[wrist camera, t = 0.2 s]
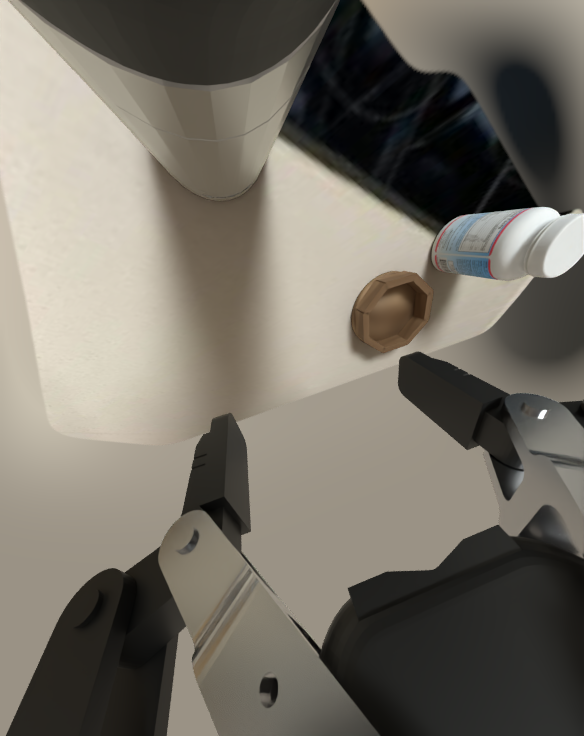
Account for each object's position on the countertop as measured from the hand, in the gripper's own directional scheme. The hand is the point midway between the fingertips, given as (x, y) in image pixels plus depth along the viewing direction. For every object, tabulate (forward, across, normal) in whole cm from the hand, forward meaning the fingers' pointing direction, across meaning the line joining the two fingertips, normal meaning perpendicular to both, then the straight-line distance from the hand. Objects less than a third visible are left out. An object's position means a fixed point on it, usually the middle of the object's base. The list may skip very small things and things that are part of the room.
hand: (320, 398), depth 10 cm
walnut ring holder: (+18, -15, +5) cm, 24 cm away
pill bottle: (+18, -24, -1) cm, 31 cm away
